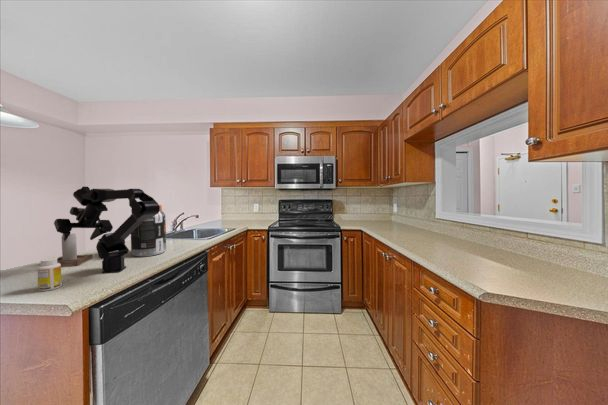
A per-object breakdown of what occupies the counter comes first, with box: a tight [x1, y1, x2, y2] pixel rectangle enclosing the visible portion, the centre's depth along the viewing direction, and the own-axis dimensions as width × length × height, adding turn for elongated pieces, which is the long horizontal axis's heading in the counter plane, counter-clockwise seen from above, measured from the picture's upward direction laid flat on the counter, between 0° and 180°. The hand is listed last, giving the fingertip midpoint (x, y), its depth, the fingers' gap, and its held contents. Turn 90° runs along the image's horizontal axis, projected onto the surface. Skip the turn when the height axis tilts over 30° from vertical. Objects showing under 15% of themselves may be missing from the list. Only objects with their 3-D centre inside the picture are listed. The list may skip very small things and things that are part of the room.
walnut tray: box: [56, 254, 94, 268], centre depth 111 cm, size 12×12×2 cm
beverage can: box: [61, 233, 78, 261], centre depth 111 cm, size 5×5×12 cm
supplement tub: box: [130, 204, 167, 257], centre depth 128 cm, size 16×16×26 cm
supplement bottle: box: [36, 257, 63, 292], centre depth 82 cm, size 6×6×10 cm
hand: (77, 239), depth 107 cm, fingers open, 9 cm apart
